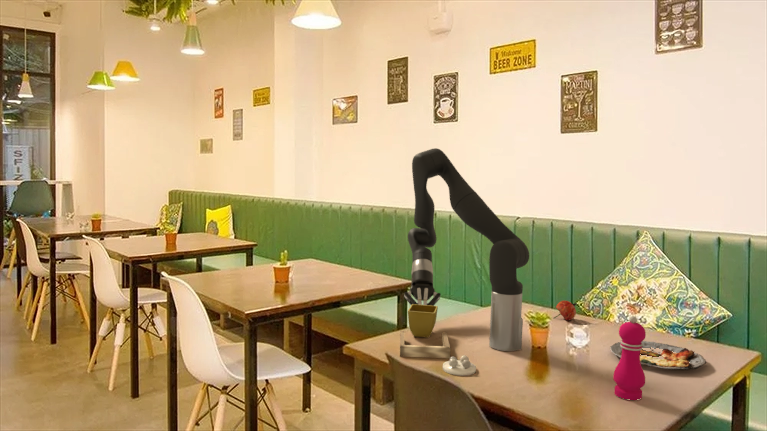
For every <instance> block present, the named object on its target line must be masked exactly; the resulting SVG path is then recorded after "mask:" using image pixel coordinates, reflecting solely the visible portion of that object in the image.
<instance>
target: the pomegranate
mask: <svg viewBox="0 0 767 431" xmlns="http://www.w3.org/2000/svg"><path fill="white" fill-rule="evenodd" d="M576 305H577V306H578V303H577V302H575V303H572V302H571V301H568V300H566V299H565V300H560V301H559V302H558V303H557V304H556V306H555V308H556V309H557V310H558V311H559V314H557V315H556V316H554V317H553V319H556V318H557V317H559V316H562V317H563V319H564V320H565V321H571V320H573V319H574V318H575V317H576V314H577V310H576V307H575V306H576Z"/></svg>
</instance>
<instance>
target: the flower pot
mask: <svg viewBox="0 0 767 431" xmlns="http://www.w3.org/2000/svg"><path fill="white" fill-rule="evenodd" d="M438 309H439V308H438V305H434V306H430V305H423V304H422V305H417V304H412V305H410V307H409V309H408V310H407V316H408V317H407V319H408V326H409V327H408V328H409V330H410V332H411V334H412V336H413V337H415V338H416V337H418V338H430V337H431V335H432V332H433V330H434V328H435V326H436V325H435V324H436V321H437V315H438Z"/></svg>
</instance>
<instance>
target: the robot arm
mask: <svg viewBox="0 0 767 431" xmlns="http://www.w3.org/2000/svg"><path fill="white" fill-rule="evenodd" d="M411 170H412V181H413V182H412V183H413V191H414V201H415V202H414V216H413V222H414V225H415V226H416V227H413V228H411V229H410V230H409V231H408V232H407V241H408V244H409V245H408V246H409V247H410V250H411V254H412V256H411V257H412V263H411V266H412V267H411V273H410V274H411V287H410V288H409V290H408V291H404V295H403V297H404V299H405V300H406V301H407V302H408V304H409V305H410V306H411V305H412V304H417V305H430V306H436V304H437V303H438V301H439V300H441V296H442V295H441V292H436V290H435V288H434V267H433V253H432V250H430V248H433V247H435V245H436V243H437V234H436V229H435V225H434V224H435V223H434V221H435V220H434V219H435V217H434V216H435V202H434V199H433V198H432V197H431V195H430V193H429V190H428V189H427V186H428V180H429V179H432V178H434V177H437V176H438V177H439V176H440V177H441V178H442V180H443V181H444V182H445V184H446V185H447V187H448V194H449V203H450V207H451V209H452V211H454V213H455V214H456V215H457V216H458V218H459V219H460V220H461V221H462V222H463V223H464V224H465V225H467V226H468V227H469V228H471V229H473V230H474V231H476V232H478V233H479V234H481V235H483V237H485V238H487V240H488V241H490V242H491V243H492V246H491V249H490V251H489V264H488V265H489V269H488V270H489V275H488V276H489V282H490V285H491V294H490V295H491V297H490V298H491V300H490V301H491V302H490V320H489V321H490V323H489V338H488V339H489V347H490V348H492V349H494V350H497V351H503V352H504V351H505V352H513V351H519V350H521V351H522V349H523V348H522V345H523V343H522V342H523V324H524V320H523V317H522V312H523V311H522V310H523V289H524V287H523V286H524V285H523V283H522V282H521V281H519V280H518V279H517V278H518V277H517V269H519V268H522V267H524V266H526V265H527V264H528V263H529V260H530V252H529V249H528V246H527V244H525V242H524V241H523V240H522V239H521V238H520V237H519V236H518V235H516V233H514V232H513V231H512V230H511V229H510V228H509V227H508V226H507V225H505V224H504V222H503V221H501V219H500V218H499V217H498V216H497V214H495V212H494V211H493V210H492V209H491V208H490V206H488V204H487V203H486V202H485V201H484V199H483V198H481V196H480V195H479V194H478V193H477V192H476V191H475V190H474V189H473V187H472V186H471V185H470V184H469V183H468V182H467V180H465V178H464V177H463V176H462V174H460V172H459V171H458V170H457V169H456V167H455V165H454V163H452V162H451V160H450V158H449V157H448V156H447V155H446V153H445V152H444V151H442V150H441V149H439V148H430V149H428V150H424V151H421V152H419V153H417V154H415V155H414V156H413V157H412V161H411ZM432 296H433V297H432ZM430 299H431V300H430ZM428 301H429V302H428ZM422 302H423V304H422Z"/></svg>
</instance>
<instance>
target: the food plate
mask: <svg viewBox="0 0 767 431" xmlns="http://www.w3.org/2000/svg"><path fill="white" fill-rule="evenodd" d="M641 343H642V344H643V345H642V348H650V349H651V347H652V348H654V349H656V348H659V349H663V350H662V353H661V354H660V353H659V354H658V353H657V352H655V351H653V352H652V351H646V350H643V349H642V350H640V354H641V355H647V356H652V357H646V356H641V355H640V363H641V365H646V366H648V367H649V368H651V367H655V368H659V369H660V368H661V369H665V370H669V371H670V370H675V371H676V370H679V371H680V370H681V371H682V370H694V369H695V370H696V369H698V368H700V367H702V366H704V365H706V363H707V360H706V359H705V358H704V356H703V355H701V354H699V353H696V352H695V351H693V350H692V349H691V350H690V349H688V348H686V347H681V346H676V345H670V344H668V343H662V342H661V343H660V342H656V341H647V340H646V341H645V340H643V341H642V342H641ZM620 344H621V342H620V341H619V342H618V341H617V342H615V343H614V344H612V345H611V346H609V350H610V351H611V353H612V354H614V355H615V356H617V357H619V358H621V355H622V347H621V346H620ZM672 351H673V352H676V353H673V352H672ZM659 356H662V357H663V358H664V359H658V358H653V357H659ZM689 362H690V363H689Z"/></svg>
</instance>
